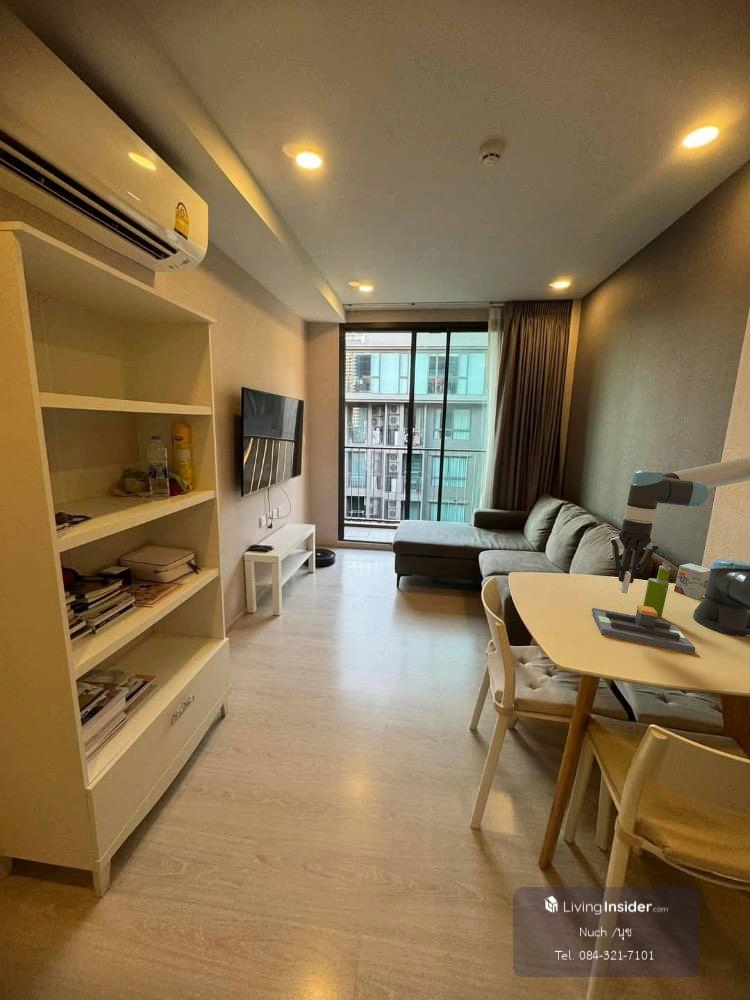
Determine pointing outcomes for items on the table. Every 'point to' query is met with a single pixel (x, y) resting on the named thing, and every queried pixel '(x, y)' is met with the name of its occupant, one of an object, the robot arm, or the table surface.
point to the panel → (643, 637)
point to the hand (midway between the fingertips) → (623, 591)
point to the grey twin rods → (615, 612)
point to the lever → (645, 616)
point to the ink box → (692, 580)
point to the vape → (658, 590)
